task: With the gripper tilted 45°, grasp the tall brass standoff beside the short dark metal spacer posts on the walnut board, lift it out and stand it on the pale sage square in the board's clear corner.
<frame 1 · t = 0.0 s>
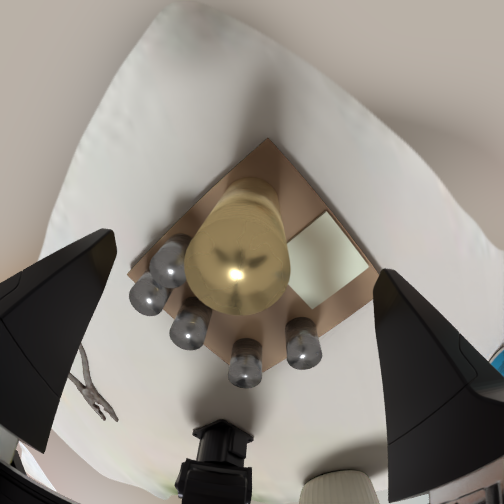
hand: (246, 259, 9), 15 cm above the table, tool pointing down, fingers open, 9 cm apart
spacer posts: (257, 278, 27), resting on walnut board
pliers: (85, 371, 34), on the table
walnut board: (257, 278, 27), on the table
beverage bottle: (500, 360, 31), on the table
brass standoff: (250, 204, 23), point 1 cm above the table, touching walnut board
canister: (334, 479, 43), on the table
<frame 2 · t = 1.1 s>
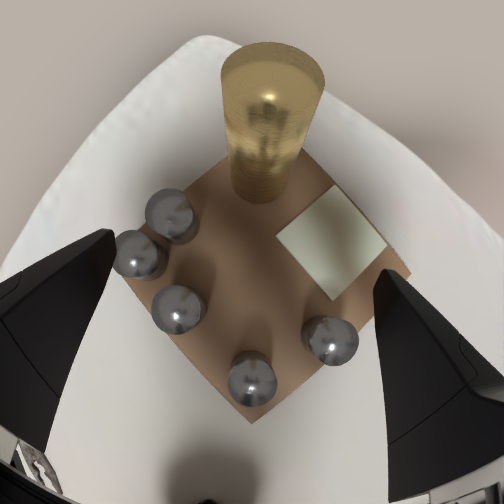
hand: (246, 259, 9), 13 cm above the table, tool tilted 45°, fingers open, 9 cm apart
spacer posts: (264, 268, 23), resting on walnut board
pliers: (28, 414, 20), on the table
walnut board: (264, 268, 23), on the table
brass standoff: (258, 177, 23), point 1 cm above the table, touching walnut board
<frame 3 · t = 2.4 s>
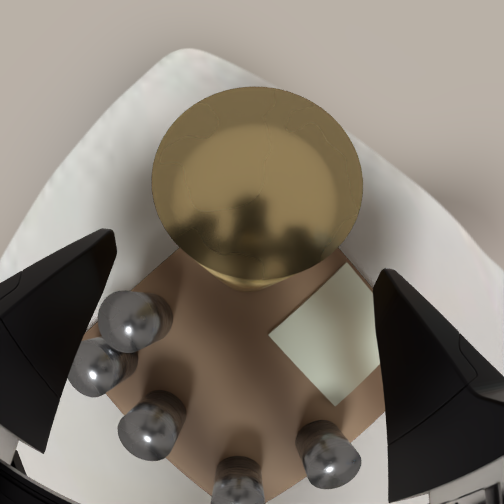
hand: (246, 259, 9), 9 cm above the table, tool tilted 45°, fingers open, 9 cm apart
spacer posts: (254, 367, 18), resting on walnut board
walnut board: (254, 367, 18), on the table
brass standoff: (247, 254, 18), point 1 cm above the table, touching walnut board
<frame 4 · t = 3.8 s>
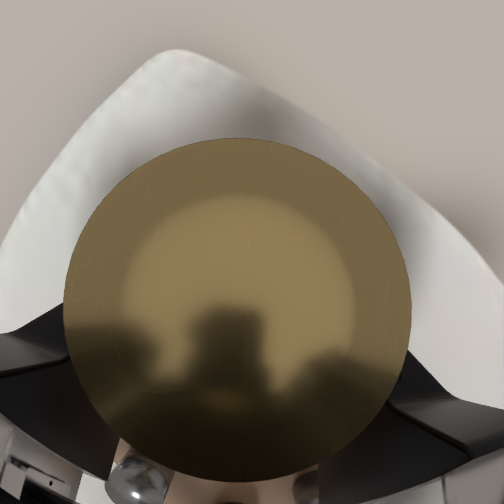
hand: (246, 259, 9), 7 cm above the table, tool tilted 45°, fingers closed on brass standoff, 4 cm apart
spacer posts: (248, 418, 15), resting on walnut board
walnut board: (248, 418, 15), on the table
brass standoff: (240, 300, 15), point 1 cm above the table, touching gripper, walnut board
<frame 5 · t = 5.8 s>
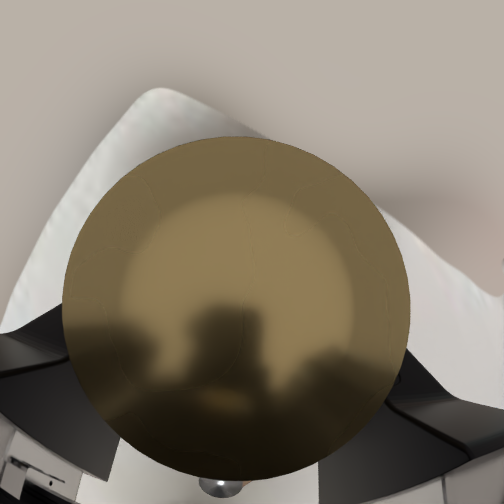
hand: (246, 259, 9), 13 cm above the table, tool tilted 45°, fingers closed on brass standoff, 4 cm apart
spacer posts: (229, 369, 22), resting on walnut board
brass standoff: (240, 300, 15), point 7 cm above the table, touching gripper
when the fingers open (8 cm above the table, at t = 7.7 s): brass standoff drops 1 cm, resting on walnut board.
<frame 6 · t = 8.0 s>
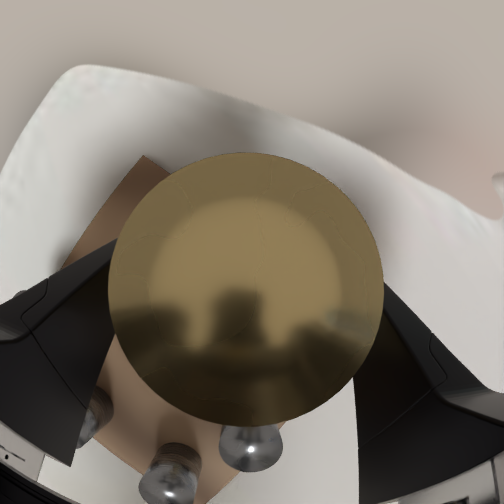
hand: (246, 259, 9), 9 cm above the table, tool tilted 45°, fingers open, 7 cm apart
spacer posts: (164, 348, 17), resting on walnut board
walnut board: (164, 348, 17), on the table
brass standoff: (240, 301, 16), point 1 cm above the table, touching walnut board
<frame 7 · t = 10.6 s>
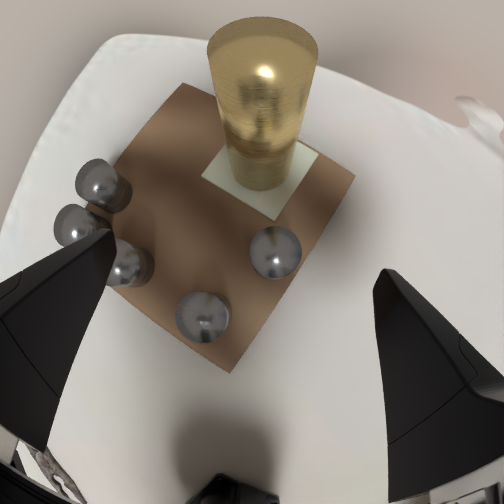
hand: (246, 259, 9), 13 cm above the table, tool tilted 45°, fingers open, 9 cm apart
spacer posts: (165, 239, 19), on the walnut board, point 1 cm above the table
pliers: (36, 427, 21), on the table
walnut board: (201, 210, 22), on the table
brass standoff: (260, 163, 21), point 1 cm above the table, touching walnut board
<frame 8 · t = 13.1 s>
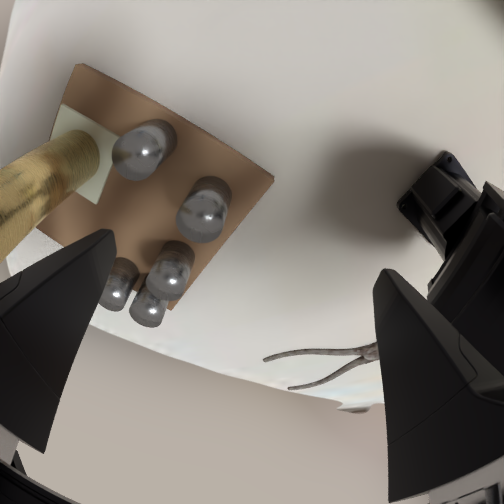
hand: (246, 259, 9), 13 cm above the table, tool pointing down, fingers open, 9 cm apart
spacer posts: (126, 198, 23), resting on walnut board
pliers: (341, 350, 34), on the table
walnut board: (126, 198, 23), on the table
brass standoff: (77, 156, 19), point 1 cm above the table, touching walnut board
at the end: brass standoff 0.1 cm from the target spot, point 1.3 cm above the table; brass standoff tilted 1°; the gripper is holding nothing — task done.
